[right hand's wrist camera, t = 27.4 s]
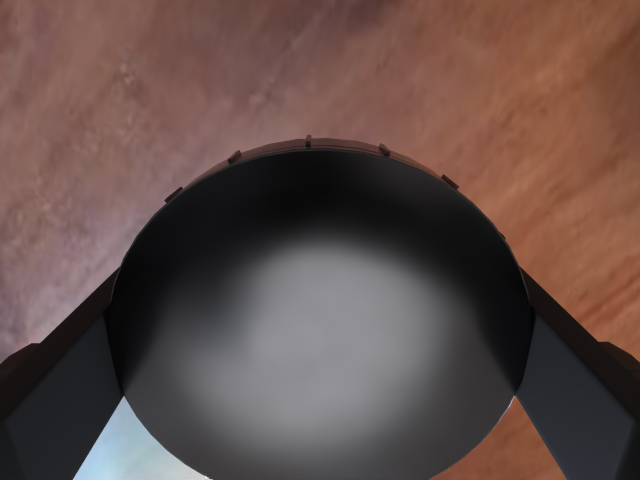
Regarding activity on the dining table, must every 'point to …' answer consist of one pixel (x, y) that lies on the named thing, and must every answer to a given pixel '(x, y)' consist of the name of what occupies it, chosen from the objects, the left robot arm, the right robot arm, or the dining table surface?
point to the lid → (319, 318)
